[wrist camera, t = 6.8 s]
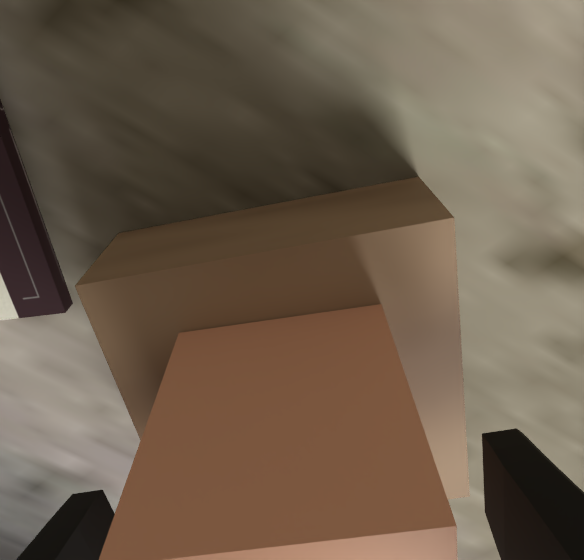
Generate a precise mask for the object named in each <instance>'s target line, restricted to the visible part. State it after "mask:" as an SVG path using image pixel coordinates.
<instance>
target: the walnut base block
mask: <svg viewBox="0 0 584 560" xmlns="http://www.w3.org/2000/svg"><path fill="white" fill-rule="evenodd" d="M75 287H76V290H77V292H78V295H79V297H80V299H81V302H82V304H83V306H84V309H85V311H86V313H87V316H88V318H89V320H90V323H91V325H92V327H93V330H94V332H95V334H96V337H97V339H98V341H99V344H100V346H101V348H102V351H103V353H104V355H105V358H106V360H107V363H108V365H109V367H110V370H111V372H112V374H113V377H114V379H115V381H116V384H117V386H118V388H119V391H120V393H121V395H122V398H123V400H124V402H125V405H126V407H127V409H128V412H129V414H130V416H131V419H132V421H133V423H134V426H135V428H136V431H137V433H138V435H139V438H140V440H141V438H142V436H143V433H144V430H145V427H146V424H147V421H148V419H149V416H150V413H151V410H152V407H153V404H154V402H155V399H156V396H157V393H158V390H159V388H160V385H161V382H162V379H163V376H164V373H165V371H166V368H167V365H168V362H169V359H170V356H171V354H172V351H173V348H174V345H175V342H176V339H177V337H178V334H179V333H181V332H188V331H195V330H202V329H209V328H216V327H223V326H230V325H237V324H244V323H251V322H258V321H265V320H272V319H279V318H286V317H293V316H300V315H307V314H314V313H321V312H328V311H335V310H342V309H349V308H356V307H363V306H370V305H377V304H382V307H383V310H384V313H385V316H386V319H387V322H388V325H389V328H390V331H391V334H392V337H393V340H394V343H395V346H396V349H397V352H398V355H399V358H400V360H401V363H402V366H403V369H404V372H405V375H406V378H407V381H408V384H409V387H410V390H411V393H412V396H413V399H414V402H415V405H416V408H417V411H418V414H419V417H420V420H421V422H422V425H423V428H424V431H425V434H426V437H427V440H428V443H429V446H430V449H431V452H432V455H433V458H434V461H435V464H436V467H437V470H438V473H439V476H440V479H441V482H442V484H443V487H444V490H445V493H446V496H447V499H454V498H461V497H469V496H470V495H469V477H468V458H467V440H466V422H465V404H464V386H463V368H462V350H461V332H460V314H459V296H458V278H457V260H456V242H455V224H454V217H453V216H452V215H451V213H450V212H449V211H448V210H447V209H446V208H445V206H444V205H443V204H442V203H441V202H440V201H439V200H438V198H437V197H436V196H435V195H434V194H433V193H432V191H431V190H430V189H429V188H428V187H427V186H426V185H425V183H424V182H423V181H422V180H421V179H420V178H419V177H414V178H409V179H403V180H398V181H393V182H387V183H382V184H377V185H371V186H366V187H361V188H356V189H350V190H345V191H340V192H334V193H329V194H324V195H318V196H313V197H308V198H302V199H297V200H292V201H287V202H281V203H276V204H271V205H265V206H260V207H255V208H249V209H244V210H239V211H233V212H228V213H223V214H218V215H212V216H207V217H202V218H196V219H191V220H186V221H180V222H175V223H170V224H164V225H159V226H154V227H149V228H143V229H138V230H133V231H127V232H122V233H118V234H117V236H116V237H115V238H114V239H113V241H112V242H111V243H110V244H109V245H108V247H107V248H106V249H105V250H104V251H103V253H102V254H101V255H100V256H99V257H98V259H97V260H96V261H95V262H94V263H93V265H92V266H91V267H90V268H89V270H88V271H87V272H86V273H85V274H84V276H83V277H82V278H81V279H80V280H79V282H78V283H77V284H76V285H75Z"/></svg>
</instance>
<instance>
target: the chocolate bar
mask: <svg viewBox="0 0 584 560" xmlns="http://www.w3.org/2000/svg"><path fill="white" fill-rule="evenodd" d="M72 304H73V302H72V300H71V297H70V294H69V291H68V288H67V286H66V283H65V280H64V277H63V274H62V271H61V269H60V266H59V263H58V260H57V257H56V255H55V252H54V249H53V246H52V243H51V241H50V238H49V235H48V232H47V229H46V227H45V224H44V221H43V218H42V215H41V212H40V210H39V207H38V204H37V201H36V198H35V196H34V193H33V190H32V187H31V184H30V182H29V179H28V176H27V173H26V170H25V168H24V165H23V162H22V159H21V156H20V153H19V151H18V148H17V145H16V142H15V139H14V137H13V134H12V131H11V128H10V125H9V123H8V120H7V117H6V114H5V111H4V109H3V106H2V103H1V100H0V320H6V319H15V318H24V317H32V316H41V315H50V314H58V313H66V311H67V310H68V309H69V308H70V306H71V305H72Z"/></svg>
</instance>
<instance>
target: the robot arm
mask: <svg viewBox="0 0 584 560" xmlns="http://www.w3.org/2000/svg"><path fill="white" fill-rule="evenodd" d="M482 445H483V472H484V498H485V513H486V516H487V519H488V522H489V525H490V528H491V531H492V534H493V537H494V540H495V543H496V546H497V549H498V552H499V555H500V557H501V560H584V492H583V491H582V490H581V489H580V488H579V487H577V486H576V485H575V484H574V483H573V482H572V481H571V480H570V479H569V478H568V477H567V476H566V475H565V474H564V473H563V472H562V471H561V470H559V469H558V468H557V467H556V466H555V465H554V464H553V463H552V462H551V461H550V460H549V459H548V458H547V457H546V456H545V455H544V454H543V453H542V452H541V451H540V450H539V449H538V448H537V447H536V446H535V445H534V444H533V443H532V442H531V441H530V440H529V439H528V438H527V437H526V436H525V435H524V434H523V433H522V432H520V431H519V430H518V429H510V430H504V431H497V432H490V433H483V434H482ZM114 515H115V514H114V512H113V510H112V508H111V506H110V504H109V502H108V500H107V498H106V496H105V494H104V492H103V490H98V491H91V492H84V493H77V494H72V495H71V497H70V498H69V499H68V500H67V501H66V502H65V503H64V504H63V505H62V507H61V508H60V509H59V510H58V511H57V512H56V514H55V515H54V516H53V517H52V518H51V519H50V521H49V522H48V523H47V524H46V525H45V526H44V528H43V529H42V530H41V531H40V532H39V534H38V535H37V536H36V537H35V538H34V540H33V541H32V542H31V543H30V544H29V545H28V547H27V548H26V549H25V550H24V551H23V553H22V554H21V555H20V556H19V557H18V558H17V560H99V557H100V555H101V552H102V549H103V546H104V543H105V540H106V538H107V535H108V532H109V529H110V526H111V523H112V521H113V518H114Z"/></svg>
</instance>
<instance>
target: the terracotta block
mask: <svg viewBox="0 0 584 560" xmlns="http://www.w3.org/2000/svg"><path fill="white" fill-rule="evenodd" d="M99 560H457V526H456V523H455V520H454V517H453V514H452V511H451V508H450V505H449V502H448V499H447V496H446V493H445V490H444V487H443V484H442V482H441V479H440V476H439V473H438V470H437V467H436V464H435V461H434V458H433V455H432V452H431V449H430V446H429V443H428V440H427V437H426V434H425V431H424V428H423V425H422V422H421V420H420V417H419V414H418V411H417V408H416V405H415V402H414V399H413V396H412V393H411V390H410V387H409V384H408V381H407V378H406V375H405V372H404V369H403V366H402V363H401V360H400V358H399V355H398V352H397V349H396V346H395V343H394V340H393V337H392V334H391V331H390V328H389V325H388V322H387V319H386V316H385V313H384V310H383V307H382V304H377V305H370V306H363V307H356V308H349V309H342V310H335V311H328V312H321V313H314V314H307V315H300V316H293V317H286V318H279V319H272V320H265V321H258V322H251V323H244V324H237V325H230V326H223V327H216V328H209V329H202V330H195V331H188V332H181V333H179V334H178V337H177V339H176V342H175V345H174V348H173V351H172V354H171V356H170V359H169V362H168V365H167V368H166V371H165V373H164V376H163V379H162V382H161V385H160V388H159V390H158V393H157V396H156V399H155V402H154V404H153V407H152V410H151V413H150V416H149V419H148V421H147V424H146V427H145V430H144V433H143V436H142V438H141V441H140V444H139V447H138V450H137V453H136V455H135V458H134V461H133V464H132V467H131V470H130V472H129V475H128V478H127V481H126V484H125V487H124V489H123V492H122V495H121V498H120V501H119V504H118V506H117V509H116V512H115V515H114V518H113V521H112V523H111V526H110V529H109V532H108V535H107V538H106V540H105V543H104V546H103V549H102V552H101V555H100V557H99Z"/></svg>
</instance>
